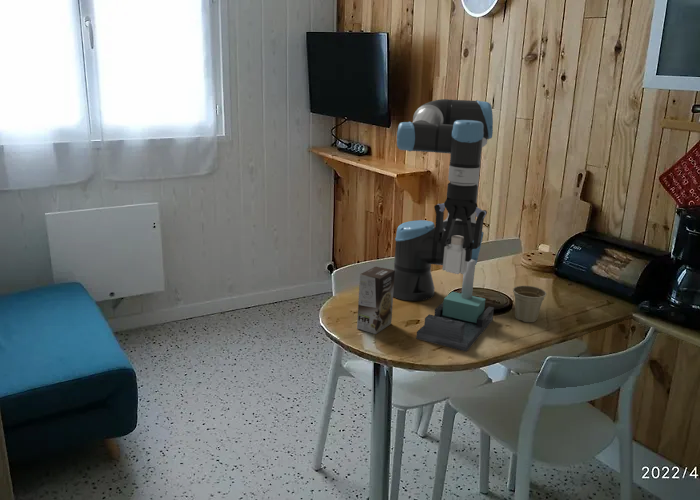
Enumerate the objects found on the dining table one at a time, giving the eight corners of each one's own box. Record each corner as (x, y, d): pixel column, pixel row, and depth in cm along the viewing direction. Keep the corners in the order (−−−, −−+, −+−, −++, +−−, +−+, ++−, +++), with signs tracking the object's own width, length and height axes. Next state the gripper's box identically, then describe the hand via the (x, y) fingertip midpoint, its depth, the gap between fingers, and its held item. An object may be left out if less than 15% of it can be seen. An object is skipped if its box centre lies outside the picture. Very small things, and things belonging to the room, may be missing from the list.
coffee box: (376, 334, 165) (379, 278, 160) (356, 328, 168) (358, 273, 163) (392, 323, 172) (395, 269, 167) (372, 318, 175) (375, 265, 171)
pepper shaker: (450, 268, 163) (453, 233, 160) (464, 271, 161) (468, 236, 158) (444, 271, 160) (447, 236, 157) (458, 275, 158) (461, 239, 155)
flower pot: (525, 327, 173) (528, 299, 171) (502, 315, 181) (506, 288, 179) (549, 322, 178) (553, 294, 175) (526, 310, 186) (530, 283, 183)
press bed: (416, 338, 163) (417, 316, 161) (447, 309, 184) (448, 289, 182) (466, 351, 157) (468, 328, 155) (492, 320, 177) (495, 299, 175)
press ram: (442, 315, 174) (447, 261, 169) (450, 307, 179) (455, 255, 175) (476, 323, 169) (482, 268, 164) (483, 314, 175) (489, 262, 170)
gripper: (425, 180, 154) (418, 268, 161) (492, 189, 146) (482, 281, 153) (436, 176, 161) (429, 261, 167) (500, 185, 153) (490, 273, 159)
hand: (454, 270), depth 160 cm, fingers closed on pepper shaker, 4 cm apart
